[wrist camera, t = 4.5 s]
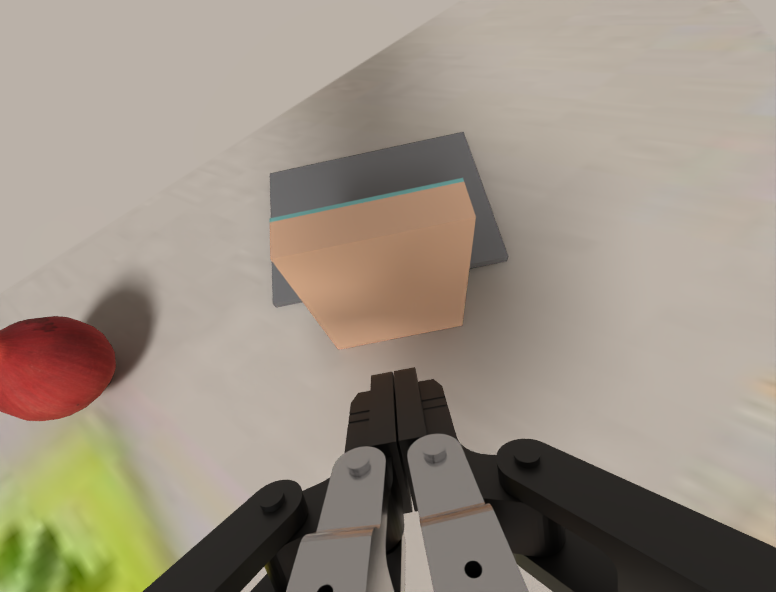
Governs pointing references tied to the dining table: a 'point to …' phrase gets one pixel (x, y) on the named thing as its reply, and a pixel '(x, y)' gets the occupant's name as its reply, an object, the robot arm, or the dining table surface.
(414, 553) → the dining table surface
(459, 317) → the tan flat block
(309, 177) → the mat
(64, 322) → the onion
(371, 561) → the robot arm
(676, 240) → the dining table surface
